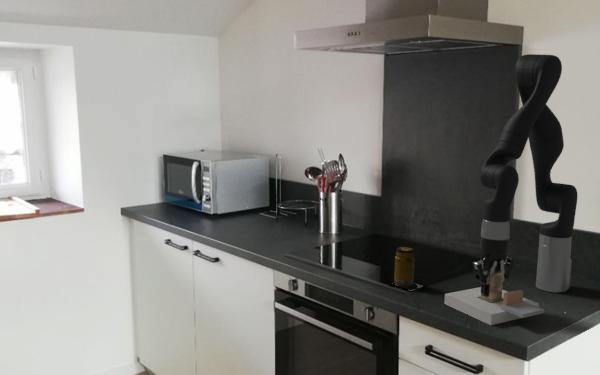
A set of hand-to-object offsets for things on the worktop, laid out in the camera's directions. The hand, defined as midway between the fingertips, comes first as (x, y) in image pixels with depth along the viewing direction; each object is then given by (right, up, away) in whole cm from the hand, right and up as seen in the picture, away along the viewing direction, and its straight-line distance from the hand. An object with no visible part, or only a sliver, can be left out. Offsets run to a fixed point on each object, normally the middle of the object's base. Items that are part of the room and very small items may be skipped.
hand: (491, 294), depth 169 cm
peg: (0, -3, 0) cm, 3 cm away
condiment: (-21, -1, +20) cm, 29 cm away
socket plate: (0, -4, +1) cm, 4 cm away
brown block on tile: (+5, -3, -9) cm, 11 cm away
